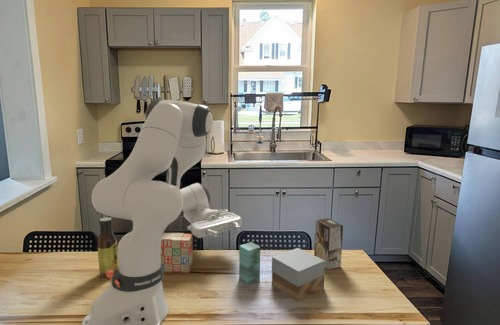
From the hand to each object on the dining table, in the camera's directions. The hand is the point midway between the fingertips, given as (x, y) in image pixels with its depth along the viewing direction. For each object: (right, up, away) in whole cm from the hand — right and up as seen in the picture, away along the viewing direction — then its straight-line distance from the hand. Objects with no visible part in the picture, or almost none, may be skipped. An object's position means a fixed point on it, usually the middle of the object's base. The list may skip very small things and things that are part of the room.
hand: (228, 231), depth 123 cm
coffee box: (+37, -13, +4) cm, 40 cm away
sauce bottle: (-41, -14, -6) cm, 44 cm away
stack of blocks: (-24, -13, -1) cm, 27 cm away
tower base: (+24, -16, -12) cm, 31 cm away
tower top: (+24, -11, -13) cm, 29 cm away
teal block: (+8, -14, -8) cm, 18 cm away
